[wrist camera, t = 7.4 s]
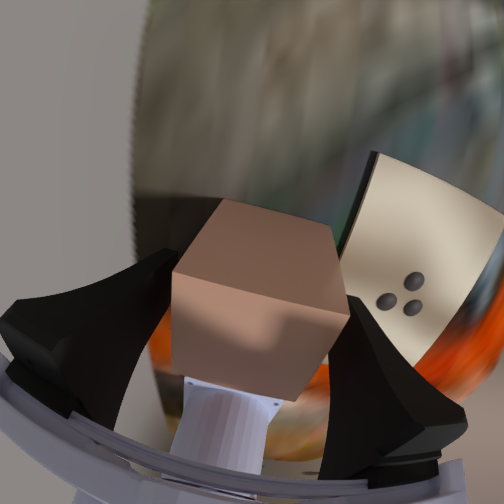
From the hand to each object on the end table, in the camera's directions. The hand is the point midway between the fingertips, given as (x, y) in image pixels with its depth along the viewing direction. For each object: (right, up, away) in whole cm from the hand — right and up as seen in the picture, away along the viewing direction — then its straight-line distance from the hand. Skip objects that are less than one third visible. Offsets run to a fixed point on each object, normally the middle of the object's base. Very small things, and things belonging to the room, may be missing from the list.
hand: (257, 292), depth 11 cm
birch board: (+8, -1, +2) cm, 8 cm away
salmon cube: (0, +1, +2) cm, 3 cm away
